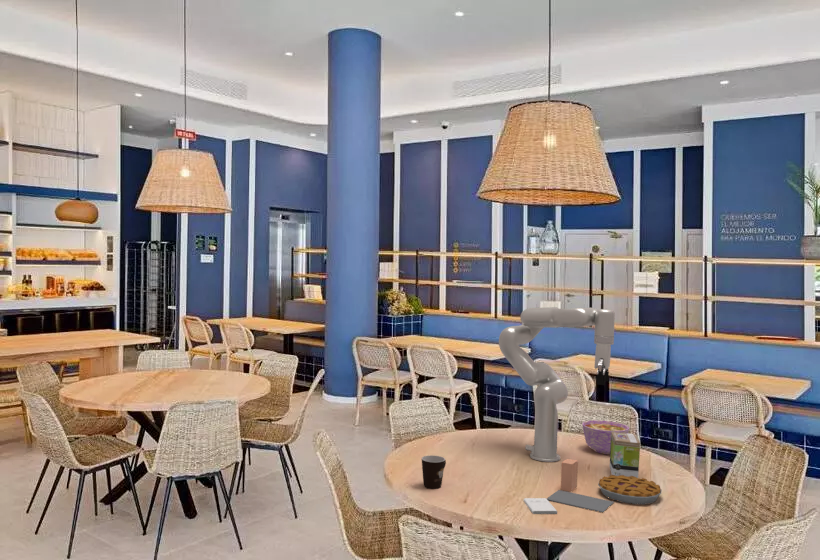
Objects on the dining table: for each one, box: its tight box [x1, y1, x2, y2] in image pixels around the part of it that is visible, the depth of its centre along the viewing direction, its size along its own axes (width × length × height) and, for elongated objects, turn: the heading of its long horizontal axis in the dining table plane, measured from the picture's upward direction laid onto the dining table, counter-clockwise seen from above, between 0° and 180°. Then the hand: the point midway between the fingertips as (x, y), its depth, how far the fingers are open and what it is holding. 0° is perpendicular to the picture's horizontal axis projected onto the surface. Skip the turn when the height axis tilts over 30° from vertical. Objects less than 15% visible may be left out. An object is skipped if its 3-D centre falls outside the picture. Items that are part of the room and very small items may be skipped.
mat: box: [546, 489, 615, 513], centre depth 238 cm, size 20×12×1 cm, turn 57°
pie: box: [597, 474, 662, 505], centre depth 247 cm, size 22×22×5 cm
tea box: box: [608, 432, 641, 478], centre depth 272 cm, size 15×10×15 cm, turn 168°
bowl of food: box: [581, 419, 630, 455], centre depth 304 cm, size 20×20×12 cm
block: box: [560, 458, 579, 493], centre depth 252 cm, size 4×6×10 cm, turn 147°
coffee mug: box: [421, 454, 447, 490], centre depth 250 cm, size 12×9×10 cm
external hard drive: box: [523, 497, 558, 515], centre depth 231 cm, size 2×8×12 cm
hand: (602, 382), depth 274 cm, fingers open, 9 cm apart
